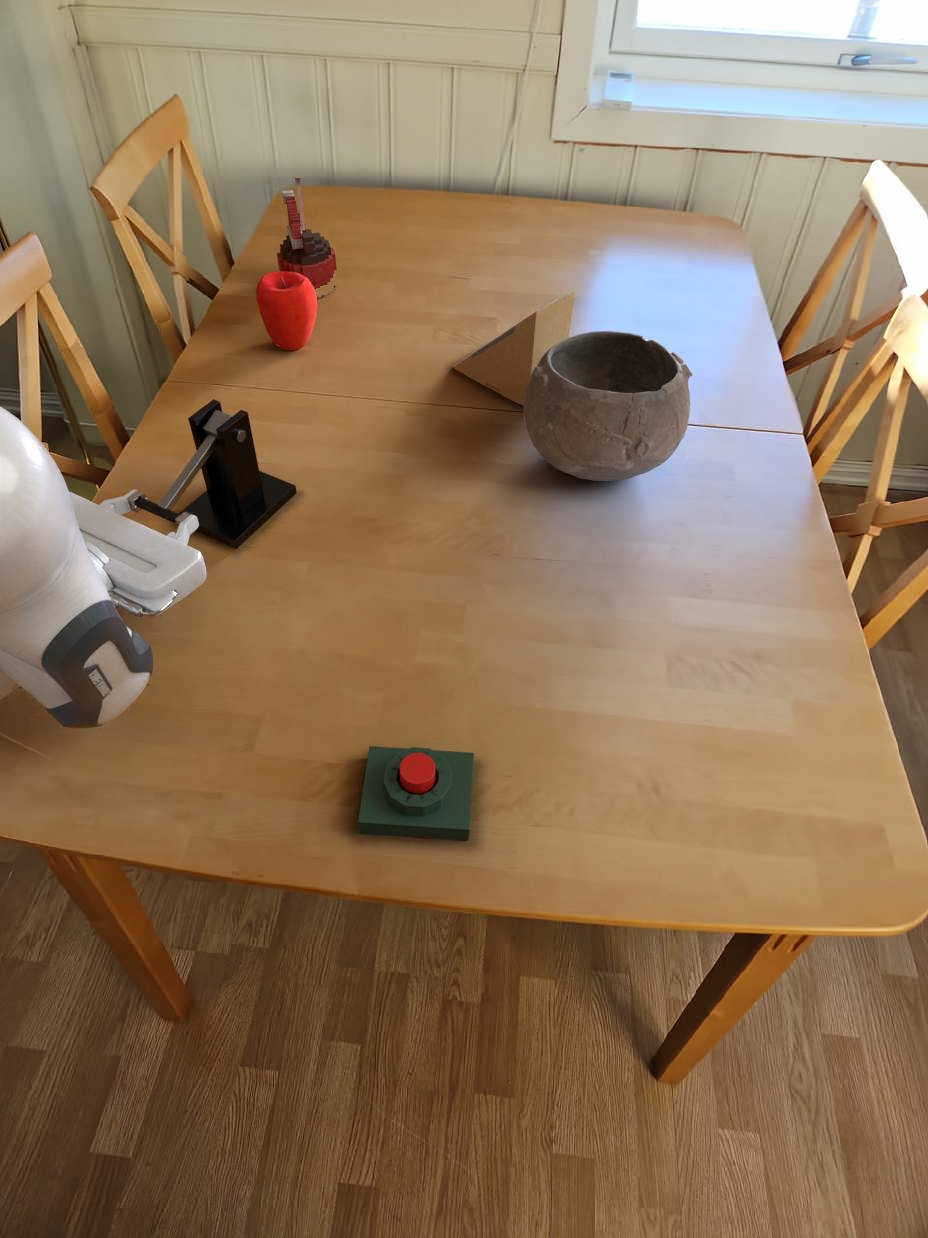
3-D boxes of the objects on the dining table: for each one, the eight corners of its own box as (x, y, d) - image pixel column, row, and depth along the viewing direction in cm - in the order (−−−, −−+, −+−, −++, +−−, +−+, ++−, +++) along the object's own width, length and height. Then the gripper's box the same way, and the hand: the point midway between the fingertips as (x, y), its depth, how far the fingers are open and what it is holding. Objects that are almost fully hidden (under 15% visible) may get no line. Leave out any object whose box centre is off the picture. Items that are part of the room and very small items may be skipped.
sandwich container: (487, 346, 130) (493, 252, 119) (563, 385, 124) (576, 290, 113) (450, 367, 126) (452, 271, 115) (526, 408, 119) (536, 311, 108)
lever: (184, 530, 91) (174, 520, 89) (143, 512, 93) (132, 501, 90) (252, 433, 95) (244, 420, 93) (211, 417, 97) (203, 404, 94)
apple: (326, 331, 132) (319, 265, 124) (313, 360, 126) (305, 293, 118) (271, 327, 132) (261, 260, 124) (257, 355, 126) (245, 288, 118)
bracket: (236, 548, 98) (214, 455, 88) (178, 523, 101) (150, 429, 91) (296, 493, 105) (282, 400, 95) (241, 470, 108) (221, 378, 98)
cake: (342, 300, 139) (333, 188, 125) (287, 306, 137) (271, 193, 123) (331, 271, 145) (321, 161, 132) (278, 276, 143) (262, 166, 130)
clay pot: (495, 478, 109) (503, 378, 97) (551, 398, 121) (564, 302, 110) (649, 527, 103) (676, 428, 92) (690, 438, 116) (719, 341, 105)
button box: (359, 833, 74) (356, 812, 71) (370, 758, 80) (368, 735, 77) (468, 841, 74) (470, 820, 71) (473, 764, 80) (475, 742, 77)
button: (398, 792, 73) (397, 782, 72) (402, 761, 75) (401, 751, 74) (433, 795, 73) (434, 785, 72) (436, 764, 75) (436, 754, 74)
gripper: (141, 600, 78) (236, 517, 86) (-11, 525, 84) (91, 454, 92) (157, 643, 82) (245, 560, 90) (12, 569, 88) (107, 498, 97)
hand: (166, 506), depth 91 cm, fingers closed on lever, 6 cm apart
